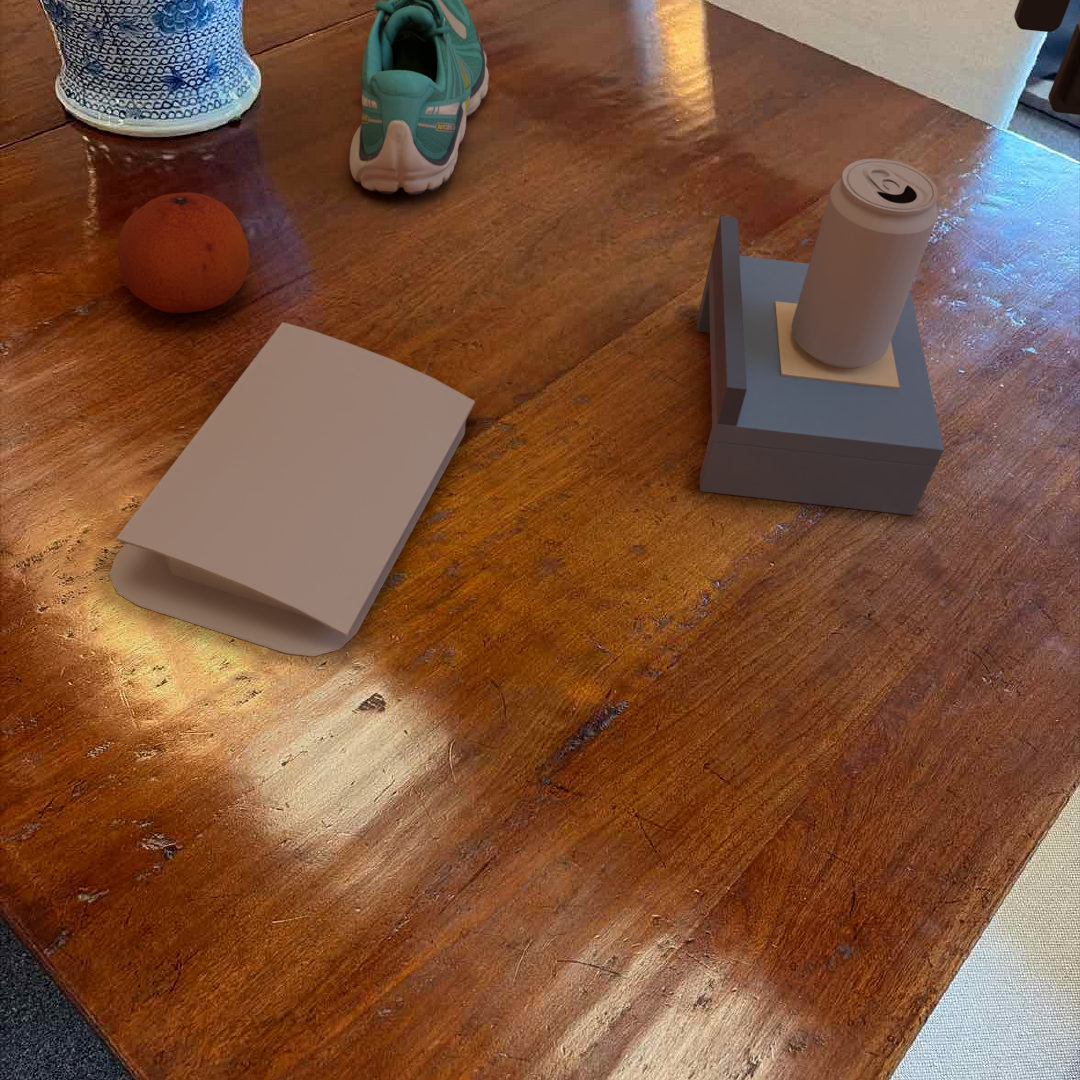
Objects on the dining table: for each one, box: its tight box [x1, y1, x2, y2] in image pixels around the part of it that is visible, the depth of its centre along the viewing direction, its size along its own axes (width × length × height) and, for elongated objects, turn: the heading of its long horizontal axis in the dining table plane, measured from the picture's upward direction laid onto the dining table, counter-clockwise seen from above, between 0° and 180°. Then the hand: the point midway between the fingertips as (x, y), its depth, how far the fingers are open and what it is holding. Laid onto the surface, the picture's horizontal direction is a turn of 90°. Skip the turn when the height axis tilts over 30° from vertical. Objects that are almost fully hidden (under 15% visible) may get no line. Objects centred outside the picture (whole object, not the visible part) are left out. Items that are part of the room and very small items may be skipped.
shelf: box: [696, 215, 945, 516], centre depth 80 cm, size 14×18×9 cm
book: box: [108, 321, 476, 658], centre depth 73 cm, size 15×23×4 cm, turn 162°
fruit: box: [117, 191, 250, 314], centre depth 83 cm, size 9×9×8 cm
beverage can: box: [792, 158, 939, 369], centre depth 74 cm, size 6×6×12 cm
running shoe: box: [349, 0, 490, 196], centre depth 101 cm, size 11×29×11 cm, turn 0°
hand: (1051, 66), depth 57 cm, fingers open, 8 cm apart
